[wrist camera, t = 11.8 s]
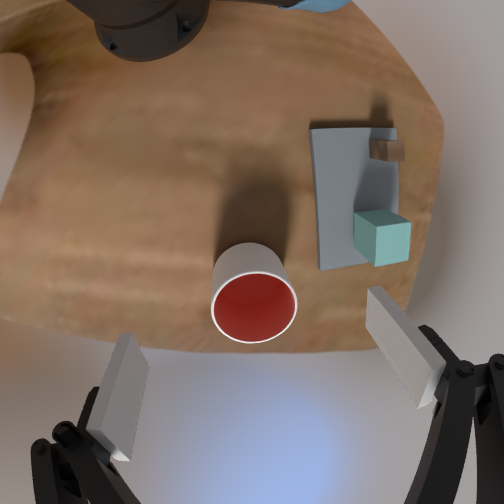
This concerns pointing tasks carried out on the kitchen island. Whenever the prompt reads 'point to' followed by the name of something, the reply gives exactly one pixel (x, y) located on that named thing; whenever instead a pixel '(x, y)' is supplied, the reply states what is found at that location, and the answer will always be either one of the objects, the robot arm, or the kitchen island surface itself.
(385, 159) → the walnut post
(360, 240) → the teal block
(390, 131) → the board
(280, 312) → the cup
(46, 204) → the kitchen island surface
